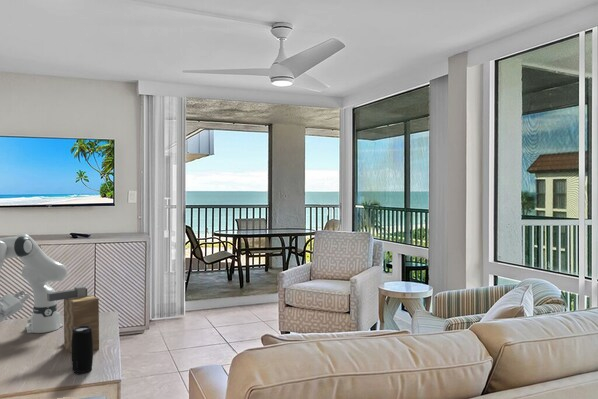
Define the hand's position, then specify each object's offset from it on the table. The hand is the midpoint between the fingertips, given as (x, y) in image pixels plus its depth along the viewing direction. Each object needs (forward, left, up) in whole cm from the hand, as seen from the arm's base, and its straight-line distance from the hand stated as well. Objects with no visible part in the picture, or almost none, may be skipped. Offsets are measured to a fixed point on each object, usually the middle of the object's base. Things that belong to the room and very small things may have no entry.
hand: (26, 293), depth 221 cm
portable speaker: (+34, +14, -32) cm, 48 cm away
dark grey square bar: (-1, +19, -6) cm, 20 cm away
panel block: (+3, +24, -32) cm, 40 cm away
